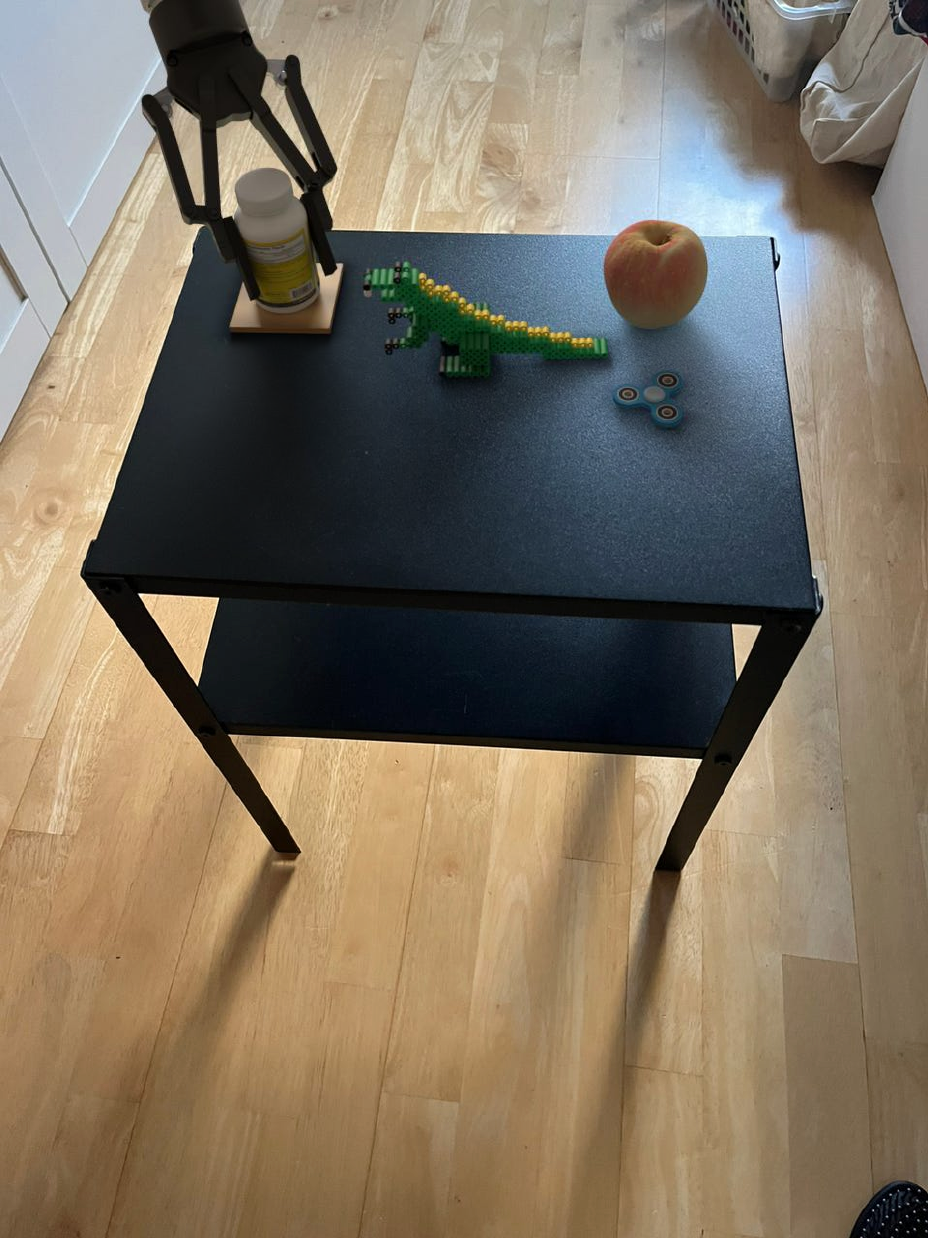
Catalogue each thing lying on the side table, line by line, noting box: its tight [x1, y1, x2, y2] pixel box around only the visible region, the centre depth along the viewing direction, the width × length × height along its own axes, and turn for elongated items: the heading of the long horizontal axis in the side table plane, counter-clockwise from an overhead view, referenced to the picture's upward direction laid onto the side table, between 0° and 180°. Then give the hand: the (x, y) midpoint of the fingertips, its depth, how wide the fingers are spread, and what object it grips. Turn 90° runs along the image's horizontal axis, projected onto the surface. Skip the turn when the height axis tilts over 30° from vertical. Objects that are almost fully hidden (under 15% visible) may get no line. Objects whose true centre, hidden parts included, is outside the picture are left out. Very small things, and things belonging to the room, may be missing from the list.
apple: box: [603, 219, 709, 330], centre depth 88 cm, size 9×9×8 cm
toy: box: [612, 369, 684, 428], centre depth 85 cm, size 6×6×1 cm
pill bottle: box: [233, 167, 320, 314], centre depth 89 cm, size 6×6×11 cm
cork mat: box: [229, 262, 345, 335], centre depth 94 cm, size 9×9×1 cm
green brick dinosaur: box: [362, 260, 609, 378], centre depth 86 cm, size 20×6×9 cm, turn 89°
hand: (293, 284), depth 89 cm, fingers closed on pill bottle, 6 cm apart
